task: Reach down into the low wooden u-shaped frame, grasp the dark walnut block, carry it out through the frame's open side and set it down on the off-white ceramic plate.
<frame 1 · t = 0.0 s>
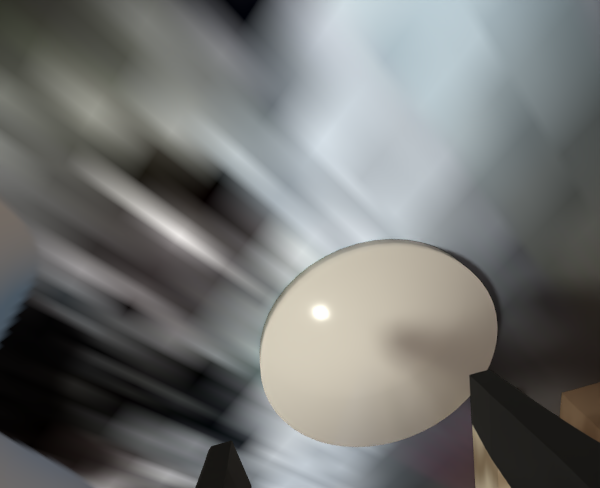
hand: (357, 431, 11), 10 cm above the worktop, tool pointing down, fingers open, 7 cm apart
wooden u-shaped frame: (592, 409, 28), on the worktop
ceramic plate: (375, 346, 23), on the worktop
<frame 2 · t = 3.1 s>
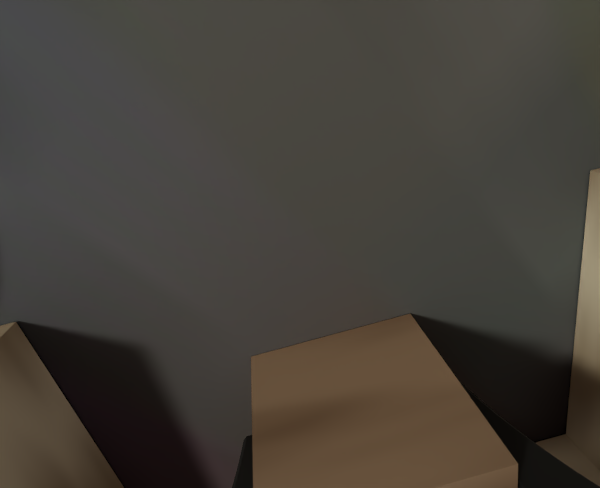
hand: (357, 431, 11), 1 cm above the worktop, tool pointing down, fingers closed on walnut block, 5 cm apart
wooden u-shaped frame: (345, 395, 12), on the worktop
walnut block: (367, 464, 10), in the wooden u-shaped frame, touching gripper
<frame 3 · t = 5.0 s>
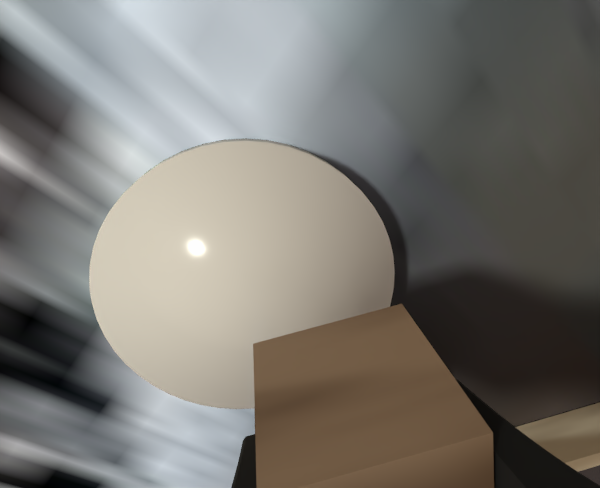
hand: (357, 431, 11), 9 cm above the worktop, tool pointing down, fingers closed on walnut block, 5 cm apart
wooden u-shaped frame: (532, 366, 24), on the worktop
walnut block: (361, 442, 11), point 9 cm above the worktop, touching gripper
ceramic plate: (250, 283, 19), on the worktop
when the fingers open (3 cm above the worktop, at t = 7.2 s): walnut block stays where it is, resting on ceramic plate.
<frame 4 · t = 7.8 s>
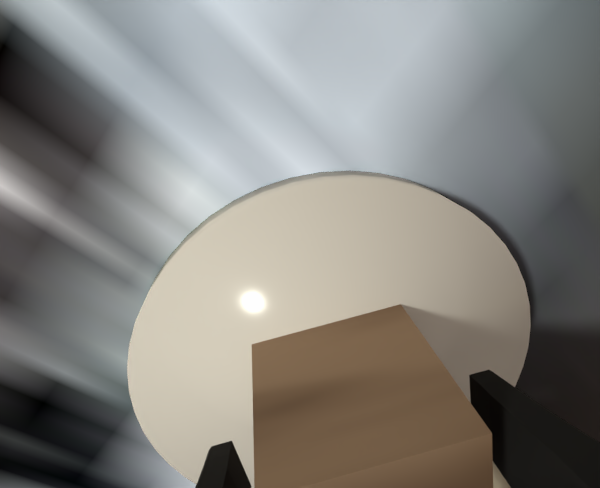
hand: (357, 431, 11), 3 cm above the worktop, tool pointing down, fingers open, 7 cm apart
walnut block: (359, 442, 11), on the ceramic plate, point 4 cm above the worktop
ceramic plate: (332, 355, 14), on the worktop
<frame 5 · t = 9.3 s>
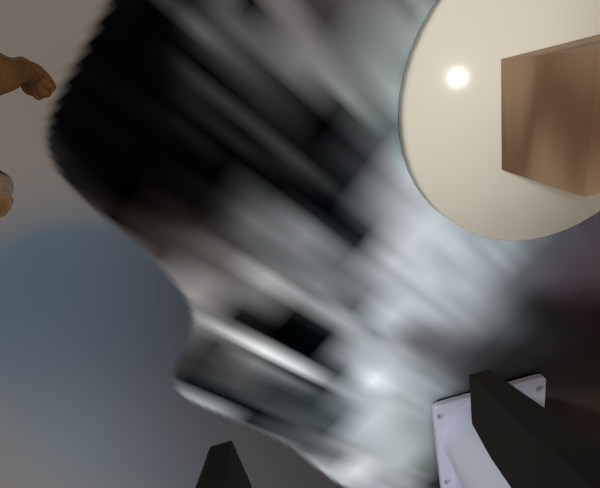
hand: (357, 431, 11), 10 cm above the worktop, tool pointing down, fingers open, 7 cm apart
lion figurine: (20, 11, 15), on the worktop
walnut block: (597, 107, 15), on the ceramic plate, point 4 cm above the worktop
ceramic plate: (534, 100, 19), on the worktop
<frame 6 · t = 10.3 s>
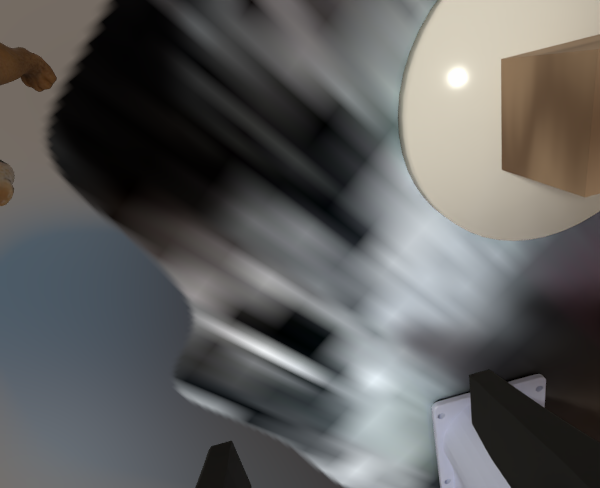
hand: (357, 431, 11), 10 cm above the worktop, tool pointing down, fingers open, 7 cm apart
lion figurine: (20, 1, 15), on the worktop
walnut block: (597, 107, 15), on the ceramic plate, point 4 cm above the worktop
ceramic plate: (534, 100, 19), on the worktop
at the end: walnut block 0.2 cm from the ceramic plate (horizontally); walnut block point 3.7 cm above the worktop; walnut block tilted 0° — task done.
